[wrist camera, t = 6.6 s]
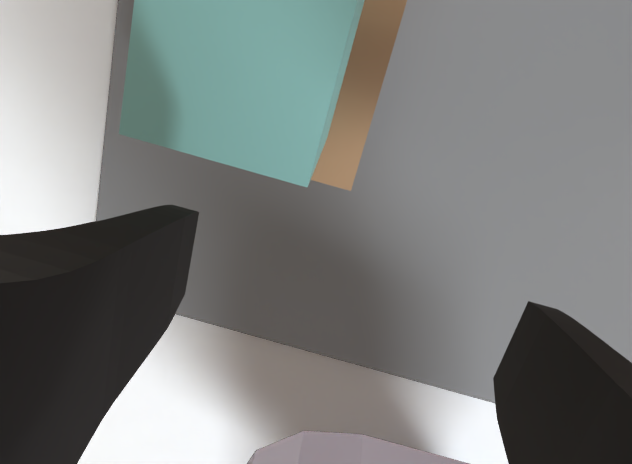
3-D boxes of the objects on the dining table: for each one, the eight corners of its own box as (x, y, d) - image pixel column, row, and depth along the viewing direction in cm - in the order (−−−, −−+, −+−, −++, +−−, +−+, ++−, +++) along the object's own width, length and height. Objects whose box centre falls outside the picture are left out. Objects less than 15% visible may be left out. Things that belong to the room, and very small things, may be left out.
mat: (623, 434, 24) (625, 439, 24) (92, 286, 24) (89, 289, 24) (939, -71, 16) (948, -72, 16) (151, -288, 17) (147, -293, 16)
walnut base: (355, 165, 21) (350, 191, 18) (173, 115, 21) (141, 132, 18) (414, -38, 18) (420, -45, 15) (204, -96, 18) (172, -113, 15)
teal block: (327, 137, 17) (307, 187, 13) (188, 98, 17) (118, 133, 13) (368, -16, 16) (363, -21, 11) (213, -60, 16) (143, -83, 11)
